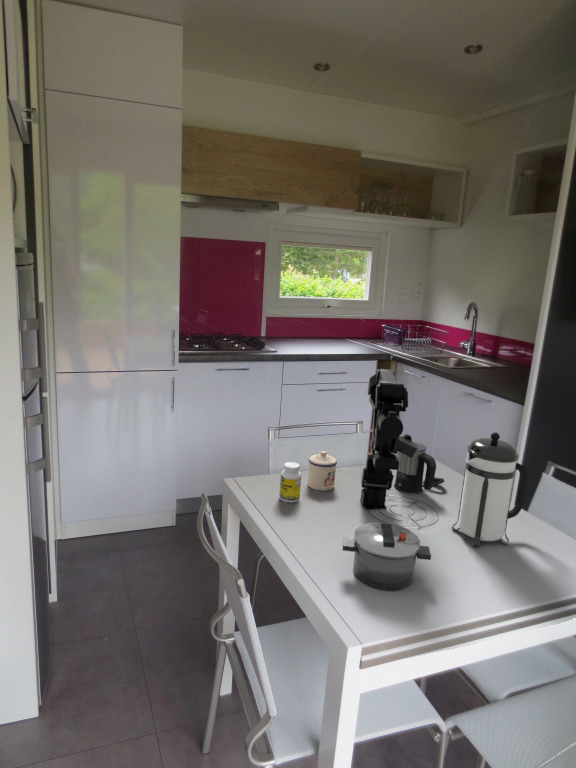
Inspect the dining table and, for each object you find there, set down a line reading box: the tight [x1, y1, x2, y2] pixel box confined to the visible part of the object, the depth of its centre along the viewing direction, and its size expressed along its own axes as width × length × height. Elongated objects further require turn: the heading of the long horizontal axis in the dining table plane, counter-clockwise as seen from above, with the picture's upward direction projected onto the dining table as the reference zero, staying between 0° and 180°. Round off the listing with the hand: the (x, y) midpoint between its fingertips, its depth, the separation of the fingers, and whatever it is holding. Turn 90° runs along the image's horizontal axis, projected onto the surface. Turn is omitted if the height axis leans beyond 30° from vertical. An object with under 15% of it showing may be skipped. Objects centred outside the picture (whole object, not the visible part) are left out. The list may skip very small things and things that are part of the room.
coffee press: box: [451, 432, 529, 549], centre depth 146 cm, size 17×16×30 cm
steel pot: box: [342, 537, 432, 592], centre depth 126 cm, size 15×20×8 cm
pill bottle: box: [279, 461, 302, 504], centre depth 163 cm, size 6×6×11 cm
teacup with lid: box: [307, 450, 338, 492], centre depth 176 cm, size 12×9×12 cm
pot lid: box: [353, 521, 421, 559], centre depth 125 cm, size 15×15×2 cm
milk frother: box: [393, 441, 445, 494], centre depth 179 cm, size 14×16×15 cm
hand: (380, 482), depth 148 cm, fingers closed
